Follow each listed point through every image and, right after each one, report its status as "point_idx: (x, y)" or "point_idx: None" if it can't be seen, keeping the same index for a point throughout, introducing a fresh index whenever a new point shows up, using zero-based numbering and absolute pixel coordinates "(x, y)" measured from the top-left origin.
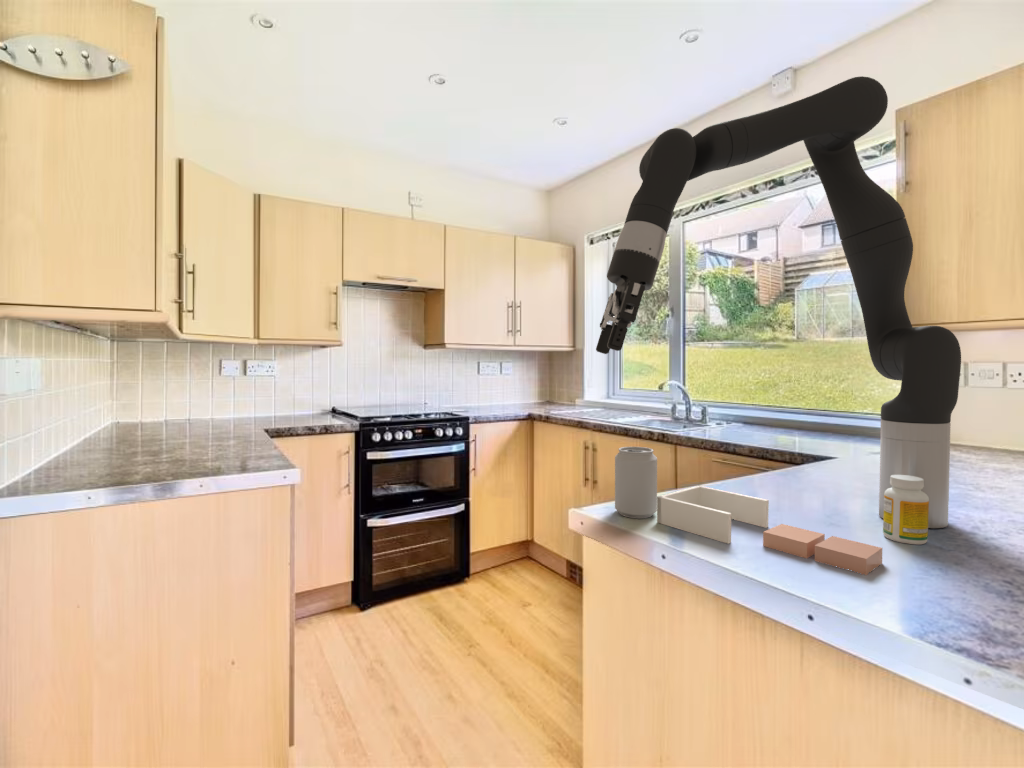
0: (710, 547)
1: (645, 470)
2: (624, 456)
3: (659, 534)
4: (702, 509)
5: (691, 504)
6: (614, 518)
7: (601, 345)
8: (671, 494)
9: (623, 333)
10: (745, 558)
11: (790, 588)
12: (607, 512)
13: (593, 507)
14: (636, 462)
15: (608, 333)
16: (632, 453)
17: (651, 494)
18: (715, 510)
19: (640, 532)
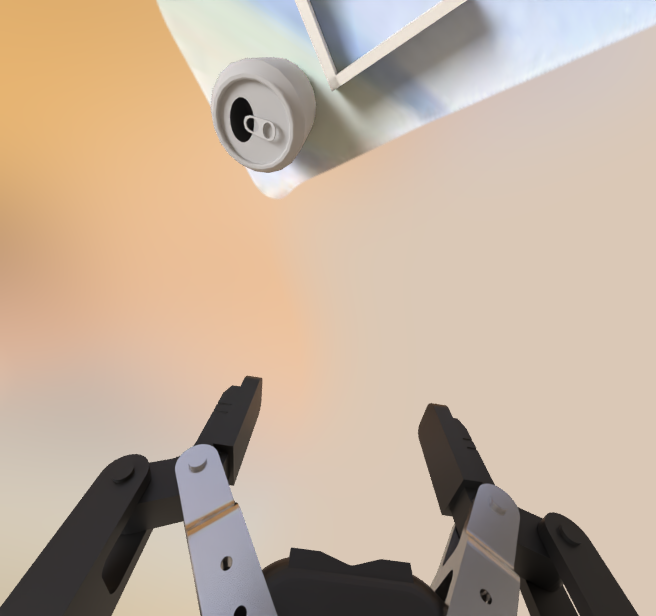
0: (463, 51)
1: (307, 116)
2: (280, 163)
3: (385, 114)
4: (426, 27)
5: (399, 40)
6: (304, 155)
7: (254, 417)
8: (322, 44)
9: (481, 465)
10: (527, 12)
11: (635, 19)
12: None
13: None
14: (302, 142)
15: (236, 459)
16: (289, 151)
17: (309, 92)
18: (454, 4)
19: (369, 142)
